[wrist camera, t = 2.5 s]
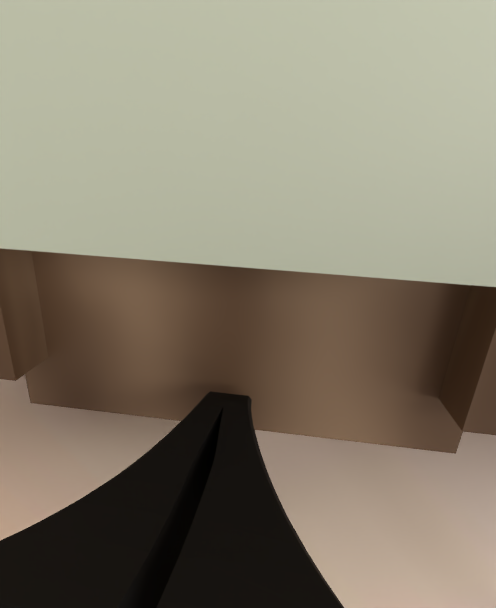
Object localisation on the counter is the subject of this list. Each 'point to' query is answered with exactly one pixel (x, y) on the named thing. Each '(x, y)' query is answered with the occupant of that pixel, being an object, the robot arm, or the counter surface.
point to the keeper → (253, 134)
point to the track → (253, 345)
